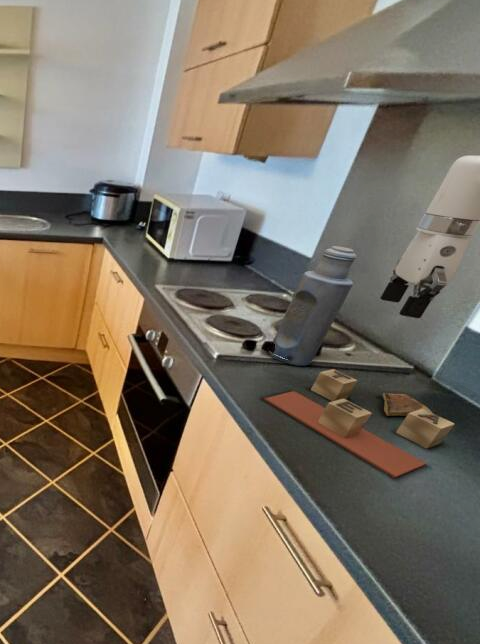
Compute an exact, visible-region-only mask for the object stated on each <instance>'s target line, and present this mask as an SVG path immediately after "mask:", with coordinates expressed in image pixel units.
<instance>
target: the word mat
mask: <svg viewBox="0 0 480 644" xmlns="http://www.w3.org/2000/svg"><path fill="white" fill-rule="evenodd" d="M263 400H264V401H265V402H267V403H268V404H270V405H272V406H274V407H275V408H277V409H279V410H280V411H282V412H284V413H285V414H287V415H289V416H290V417H292V418H293V419H295V420H297V421H298V422H300V423H302V424H304V426H307V427H309V428H310V429H311V430H313V431H315V432H317V433H318V434H320V435H321V436H323V437H325V438H327V439H328V440H330V441H332V442H333V443H335V444H336V445H338V446H340V447H341V448H343V449H345V450H347V451H348V452H350V453H352V454H353V455H355V456H357V457H358V458H360V459H362V460H363V461H365V462H367V463H368V464H370V465H372V466H373V467H375V468H377V469H378V470H380V471H381V472H383V473H385V474H386V475H388V476H390V477H392V478H393V479H396V478H399V477H401V476H404V475H405V474H408V473H410V472H412V471H413V472H414V471H415V470H417V469H420V468H422V467H425V466H426V465H427V463H426V462H424V461H422V460H421V459H419V458H417V457H415V456H413V455H411V454H410V453H408V452H407V451H405V450H403V449H401V448H399V447H397V446H396V445H394V444H392V443H390V442H388V441H387V440H385V439H382V438H381V437H379V436H377V435H376V434H373V433H372V432H370V431H368V430H366V429H364V428H362V429H361V431H360V433H358V434H355V435H352V436H349V437H346V438H343V437H342V436H340V435H338V434H337V433H335V432H333V431H331V430H330V429H328V428H326V427H325V426H323V425H321V424H319V423H318V420H319V419H320V417H321V415H322V413H323V412H324V410H325V408H326V407H324V406H322V405H320V404H318V403H317V402H315V401H313V400H311V399H309V398H308V397H306V396H304V395H302V394H300V393H298V392H296V391H295V390H293V391H288V392H284V393H280V394H277V395H272V396H268V397H265V398H264V399H263Z"/></svg>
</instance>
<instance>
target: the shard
mask: <svg viewBox="0 0 480 644" xmlns="http://www.w3.org/2000/svg"><path fill="white" fill-rule="evenodd" d="M382 399H383V400H384V404H383V411H384V413H385V415H386V416H387V417H389V416H391V417H392V416H393V417H395V416H399V417H401V416H403V417H405V416H406V417H407V415H408V414H409V413H411V412H414V411H417V410H420V409H424V410H426V411H429V412H431V413H433V412H432V411H431V410H430V408H429V407H427V406H426V405H424V404H423V403H421V402H419V401H418V400H416V399H414V398H413V397H412V396H409V395H408V394H405V393H388V392H382Z"/></svg>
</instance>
